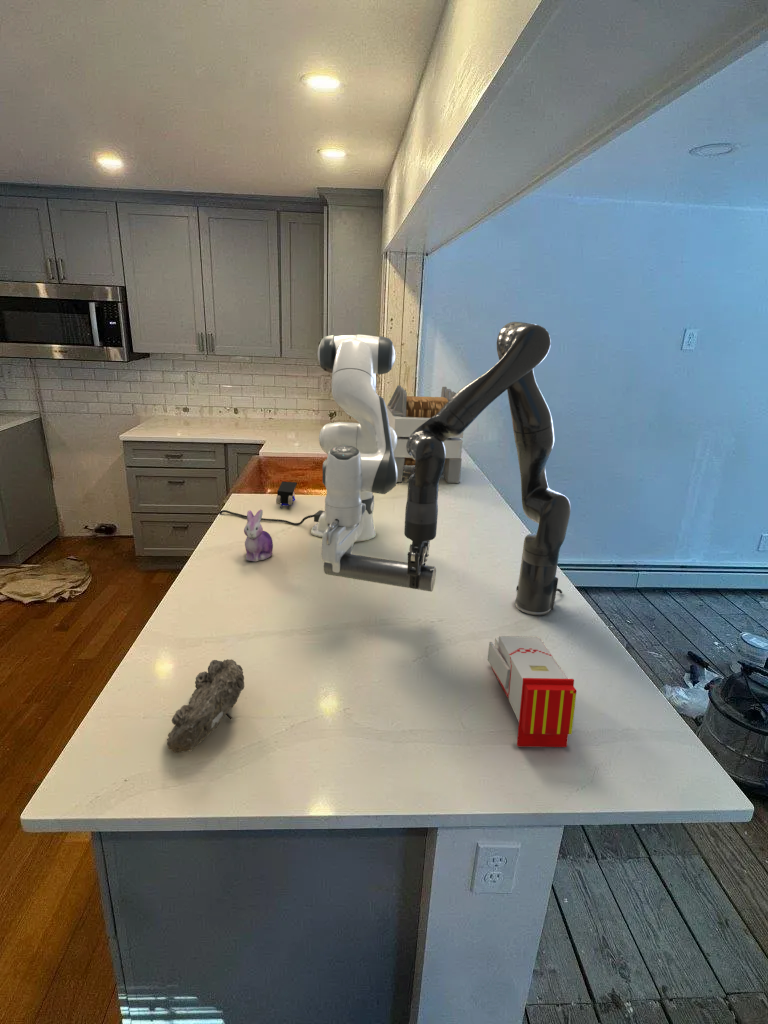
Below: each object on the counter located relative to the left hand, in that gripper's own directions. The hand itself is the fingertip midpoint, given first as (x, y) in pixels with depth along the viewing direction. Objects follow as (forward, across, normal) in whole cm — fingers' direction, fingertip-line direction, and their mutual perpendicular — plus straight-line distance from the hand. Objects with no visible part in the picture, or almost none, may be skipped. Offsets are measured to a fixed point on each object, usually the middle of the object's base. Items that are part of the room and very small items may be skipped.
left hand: (342, 565), depth 142 cm
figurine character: (+14, +72, +49) cm, 88 cm away
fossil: (+14, -45, +10) cm, 48 cm away
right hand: (+1, 0, -19) cm, 19 cm away
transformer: (+14, +138, +10) cm, 139 cm away
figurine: (+14, +24, +36) cm, 45 cm away
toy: (+14, -20, -47) cm, 53 cm away
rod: (+3, 0, -10) cm, 10 cm away
